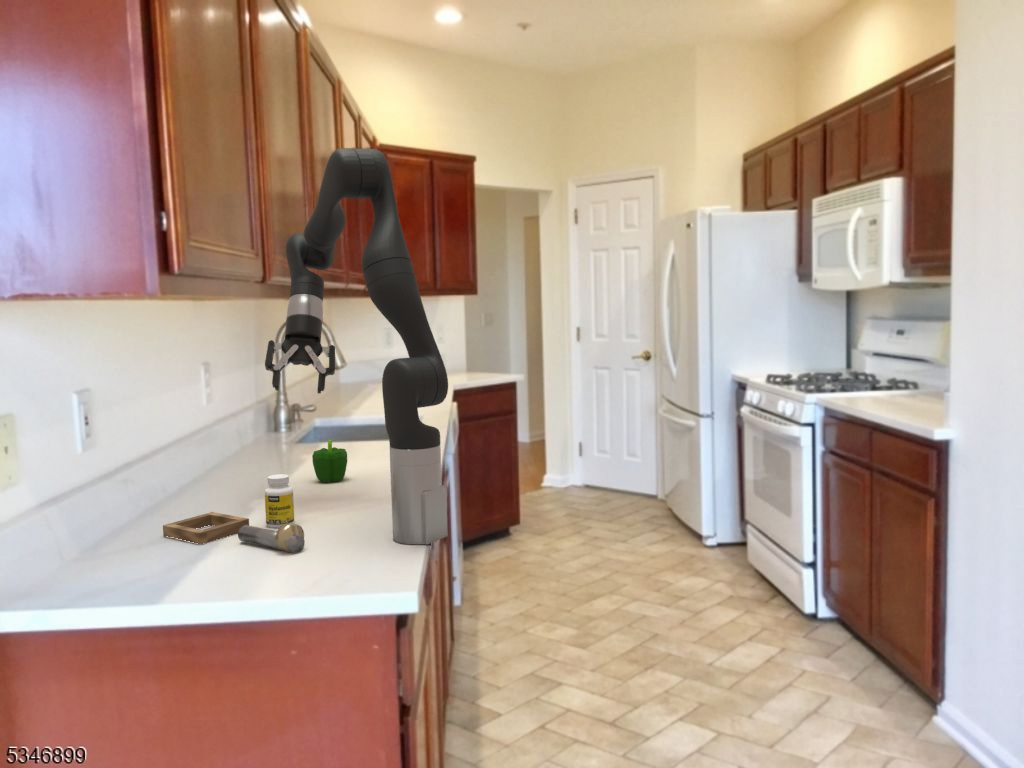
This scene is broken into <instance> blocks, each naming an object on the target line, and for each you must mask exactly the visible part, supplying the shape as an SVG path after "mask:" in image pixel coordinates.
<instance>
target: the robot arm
mask: <svg viewBox="0 0 1024 768" xmlns="http://www.w3.org/2000/svg"><path fill="white" fill-rule="evenodd" d="M343 199H352V200H354V199H355V200H358V199H365V200H366V199H369V200H370V201H371V205H372V208H373V217H374V218H373V220H374V221H373V224H372V228H371V232H370V235H369V237H368V239H367V242H366V245H365V247H364V249H363V252H362V253H363V254H362V258H361V270H362V274H363V277H364V281H365V285H366V289H367V293H368V296H369V298H370V300H371V302H372V303H373V306H375V308H376V309H377V310H378V311H379V312H380V314H382V315H383V317H384V318H385V319H386V320H387V322H388V323H389V324H390V325H391V326H392V327H393V328H394V329H395V331H397V334H399V336H400V338H401V340H402V342H403V344H404V345H405V346H404V347H405V348H406V351H407V352H406V353H407V355H408V357H401V358H394V359H392V360H390V361H389V362H388V363H387V364H386V365H385V368H384V369H383V374H382V382H381V383H382V384H381V388H382V389H381V391H382V400H383V410H384V411H383V413H384V423H385V429H386V433H387V436H388V440H389V465H390V466H389V467H390V471H389V472H390V493H391V495H390V496H391V519H392V539H393V541H395V542H396V543H400V544H403V545H404V544H407V545H419V544H420V545H421V544H422V545H429V544H433V543H434V542H438V541H439V540H441V539H444V538H446V537H448V536H449V535H448V533H449V532H448V507H447V506H448V502H447V501H448V500H447V498H448V497H447V496H448V495H447V486H446V485H444V484H442V455H441V454H442V452H441V450H442V449H441V432H440V430H439V429H438V428H437V427H435V426H432V425H428V424H425V423H423V422H422V421H421V419H420V416H419V411H418V409H420V408H426V407H428V408H429V407H433V406H438V405H440V404H442V403H443V402H444V401H445V400H446V398H447V396H448V392H449V379H448V373H447V369H446V366H445V363H444V361H443V357H442V355H441V352H440V350H439V346H438V344H437V343H436V340H435V337H434V335H433V331H432V328H431V326H430V323H429V321H428V317H427V314H426V310H425V308H424V304H423V300H422V297H421V294H420V290H419V286H418V282H417V277H416V274H415V270H414V266H413V263H412V260H411V259H412V258H411V256H410V253H409V251H408V250H409V249H408V247H407V244H406V239H405V236H404V233H403V228H402V225H401V221H400V216H399V211H398V206H397V200H396V195H395V189H394V184H393V178H392V173H391V169H390V165H389V163H388V159H387V158H386V156H385V154H384V152H382V151H381V150H379V149H375V148H354V147H353V148H346V147H345V148H338V149H335V150H334V151H333V152H332V153H331V154H330V156H329V157H328V160H327V163H326V166H325V169H324V173H323V177H322V180H321V185H320V188H319V192H318V197H317V202H316V205H315V208H314V210H313V212H312V214H311V215H310V217H309V220H307V223H306V225H305V227H304V230H303V233H301V232H295V233H294V234H291V236H289V238H288V239H287V241H286V243H285V256H286V261H287V265H288V269H289V275H290V290H289V301H288V305H287V309H286V310H287V311H286V319H285V329H284V339H283V342H282V343H280V342H275V341H274V340H273V339H271V340H269V341H268V343H267V349H266V354H265V360H264V368H265V370H266V371H268V372H269V371H270V372H271V373H272V378H271V379H272V381H271V385H272V387H273V388H274V390H275V391H280V385H281V372H282V371H283V370H284V369H285V368H287V367H288V366H289V365H290V364H292V365H295V366H298V365H299V366H300V365H302V366H307V367H308V366H309V365H312V367H313V368H314V369H315V370H316V372H317V374H318V378H317V379H318V381H317V394H321V393H322V392H324V391H325V388H326V387H325V386H326V377H328V376H333V375H335V374H336V371H335V370H336V346H334V345H333V344H331V345H330V346H322V333H323V332H322V330H323V321H324V306H323V305H324V304H323V303H324V292H325V281H324V279H323V278H322V277H321V276H320V275H319V274H317V273H316V272H313V271H311V270H309V268H310V269H312V270H318V271H319V270H320V271H325V270H328V269H329V268H330V267H332V265H333V263H334V262H335V261H334V260H335V254H336V253H335V247H336V244H337V241H338V240H339V238H340V236H341V235H342V233H343V232H344V229H345V226H346V213H345V210H344V208H343V206H342V204H341V200H343ZM279 350H281V351H282V353H283V356H281V357H280V359H279V360H278V362H276V363H275V364H274V356H275V354H277V353H278V352H279ZM322 353H324V355H325V357H326V358H328V367H325V366H324V365H323V364H322V362H321V360H320V358H319V357H320V356H321V355H322Z"/></svg>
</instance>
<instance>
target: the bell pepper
mask: <svg viewBox="0 0 1024 768" xmlns="http://www.w3.org/2000/svg"><path fill="white" fill-rule="evenodd" d="M311 459H312V466H313V469H314V473H315V477H316V478H317V480H318V481H319V482H321V483H331V482H333V483H334V482H335V483H336V482H340V481H343V480H344V478H345V476H346V470H347V467H348V452H347V449H346V448H338V447H334V446H333V440H332V439H328V440H327V448H325V447H322V448H320V449H318V450H314V451H313V453H312V457H311Z"/></svg>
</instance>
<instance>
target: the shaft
mask: <svg viewBox="0 0 1024 768" xmlns="http://www.w3.org/2000/svg"><path fill="white" fill-rule="evenodd" d="M237 537H238V539H239V541H240V542H243V543H249V544H253V545H257V546H262V547H267V548H271V549H272V548H273V549H276V550H280V551H284V552H289V553H295V554H299V553H300V552H302V551H303V549H304V548H305V541H306V539H305V531H304V529H303V527H302V526H301V525H299V524H296V523H293V524H291V523H285V524H283V525H282V526H281V527H280V528H278V529H277V530H273V529H268V528H263V527H258V526H254V525H253V526H252V525H249V526H248V525H244V526H242V527H241V528H240V530H239V532H238V534H237ZM298 552H299V553H298Z"/></svg>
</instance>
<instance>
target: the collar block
mask: <svg viewBox="0 0 1024 768" xmlns="http://www.w3.org/2000/svg"><path fill="white" fill-rule="evenodd" d="M208 525H211V526H208ZM212 525H215V526H212ZM244 525H248V526H250V519H249V518H247V517H242V516H235V515H232V514H231V515H230V514H224V513H220V512H215V511H211V512H210V511H209V512H208V513H207V512H206V513H204V514H200V515H195V516H192V517H188V518H185V519H182V520H177V521H174V522H171V523H167V524H163V525H162V532H163V533H162V534H163V535H162V536H168V537H174V538H178V539H182V540H186V541H190V542H194V543H198V544H202V545H204V544H203V543H205V544H208V543H207V542H209V543H211V542H210V541H212V542H214V541H213V540H215V541H217V540H216V539H218V540H221V539H220V538H222V539H224V538H223V537H225V538H228V537H230V535H231V536H234V535H238V532H239V530H240V528H241V527H242V526H244ZM204 526H208V528H207V527H206V528H205V527H204ZM201 527H204V529H203V528H201ZM196 528H201V529H196ZM227 536H228V537H227ZM194 543H193V544H194ZM198 544H197V545H198Z"/></svg>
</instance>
